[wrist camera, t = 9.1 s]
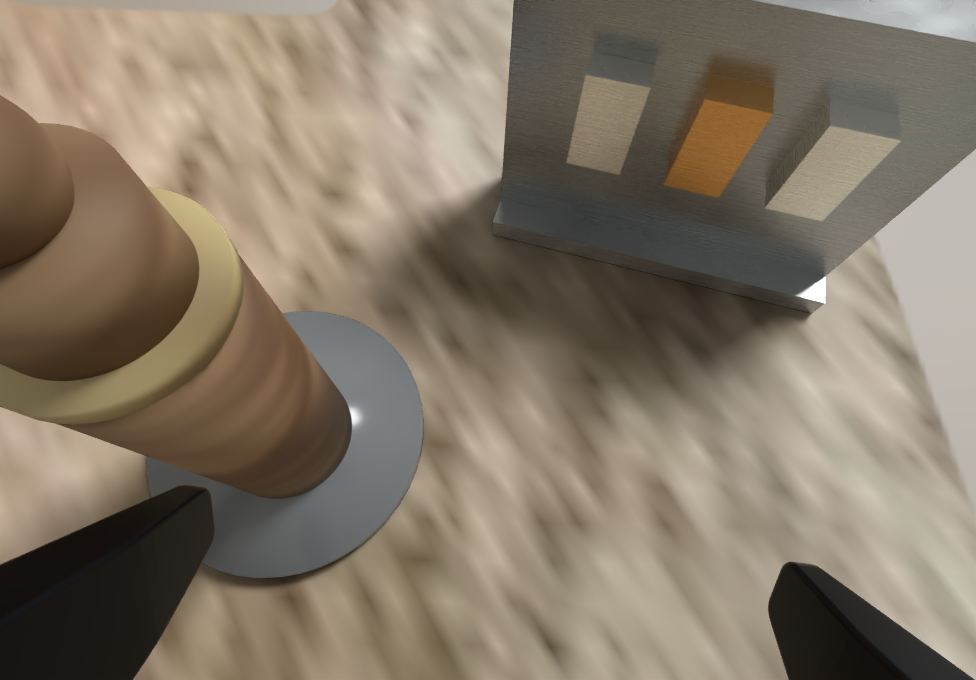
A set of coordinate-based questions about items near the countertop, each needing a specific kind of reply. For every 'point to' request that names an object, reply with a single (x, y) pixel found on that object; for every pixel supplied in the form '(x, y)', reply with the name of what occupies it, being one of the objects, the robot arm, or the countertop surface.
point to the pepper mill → (149, 322)
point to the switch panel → (731, 132)
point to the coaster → (351, 487)
